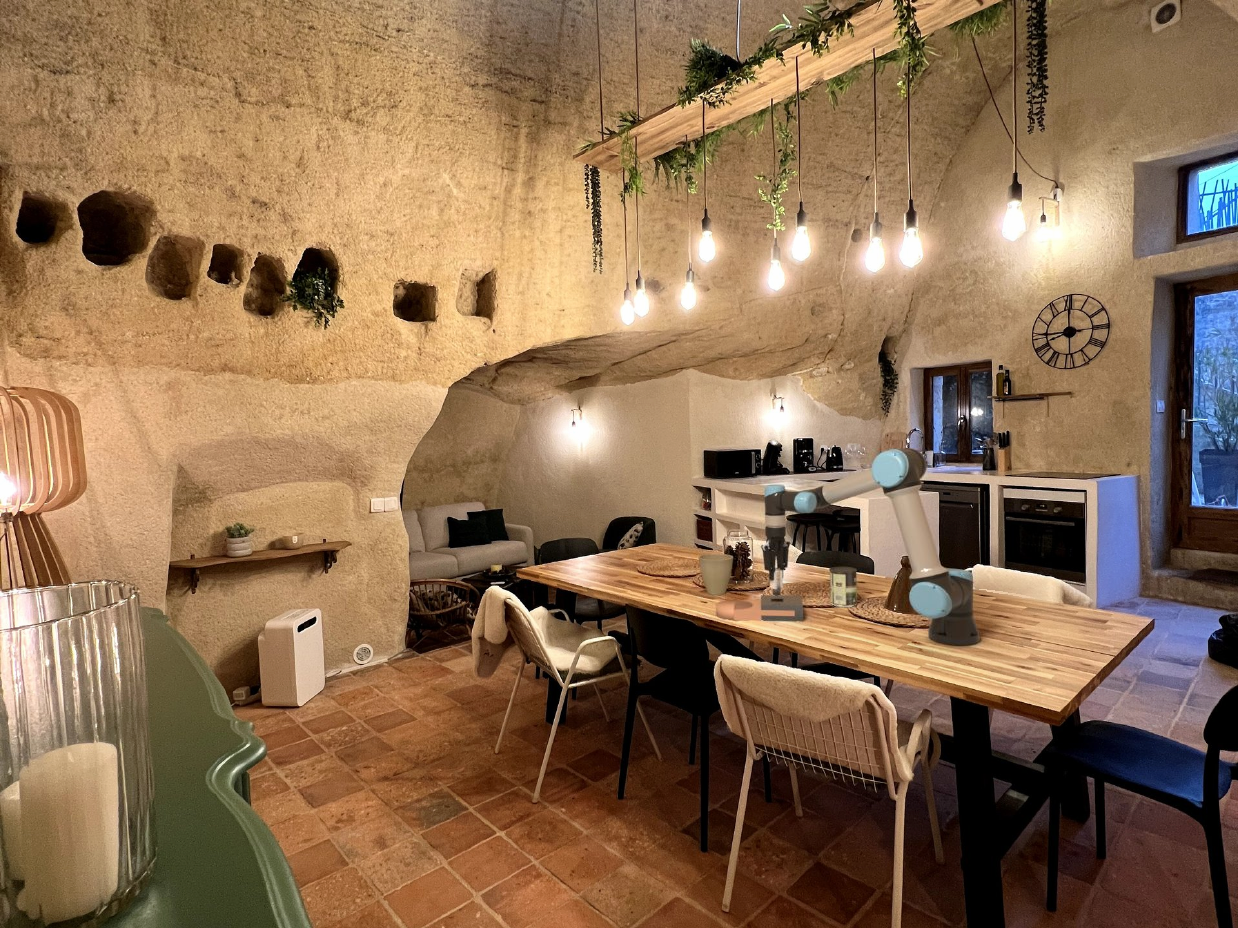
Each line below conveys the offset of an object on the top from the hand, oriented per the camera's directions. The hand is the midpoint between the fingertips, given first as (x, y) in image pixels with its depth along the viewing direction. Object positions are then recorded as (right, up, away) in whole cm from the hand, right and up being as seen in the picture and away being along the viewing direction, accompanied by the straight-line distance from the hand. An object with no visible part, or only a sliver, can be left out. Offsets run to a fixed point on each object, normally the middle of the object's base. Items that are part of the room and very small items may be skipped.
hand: (776, 587), depth 261 cm
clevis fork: (+2, -11, 0) cm, 11 cm away
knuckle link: (-8, -11, +2) cm, 14 cm away
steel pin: (0, -3, 0) cm, 3 cm away
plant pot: (-17, -10, +39) cm, 43 cm away
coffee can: (+30, -9, +14) cm, 34 cm away
